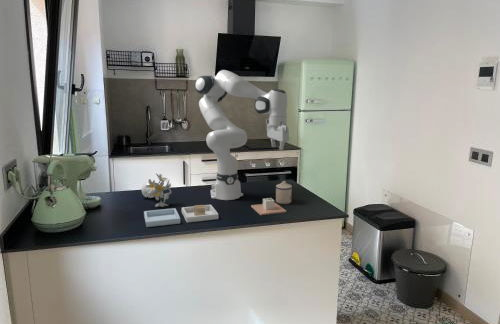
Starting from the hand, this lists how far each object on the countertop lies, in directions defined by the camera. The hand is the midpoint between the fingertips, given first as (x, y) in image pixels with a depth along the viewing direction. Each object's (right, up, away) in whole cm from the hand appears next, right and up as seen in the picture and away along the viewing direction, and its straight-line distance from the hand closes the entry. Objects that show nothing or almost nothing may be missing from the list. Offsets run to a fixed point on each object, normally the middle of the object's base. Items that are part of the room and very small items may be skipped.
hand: (277, 148), depth 190 cm
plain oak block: (-39, -33, -11) cm, 52 cm away
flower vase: (-66, -29, +12) cm, 73 cm away
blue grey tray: (-56, -35, -17) cm, 68 cm away
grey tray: (-39, -34, -11) cm, 52 cm away
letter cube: (-5, -31, +1) cm, 31 cm away
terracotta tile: (-5, -32, +1) cm, 32 cm away
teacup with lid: (+4, -29, +15) cm, 33 cm away
